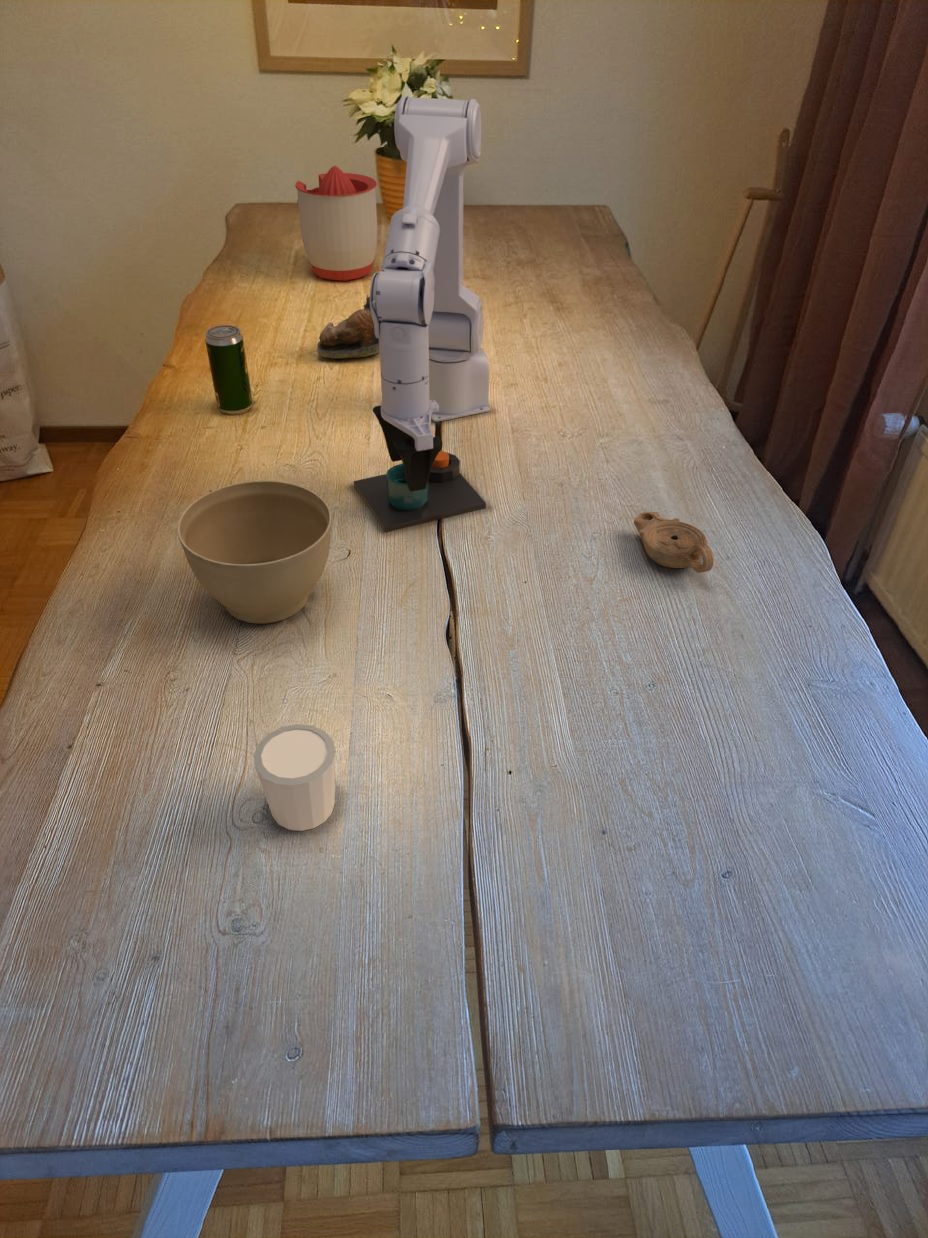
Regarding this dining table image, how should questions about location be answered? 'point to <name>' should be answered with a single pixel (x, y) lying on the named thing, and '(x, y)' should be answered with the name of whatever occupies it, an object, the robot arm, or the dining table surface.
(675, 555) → the oil lamp
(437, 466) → the button
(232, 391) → the beer can
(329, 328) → the bison figurine
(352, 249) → the citrus juicer
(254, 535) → the planter bowl
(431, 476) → the scale
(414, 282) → the robot arm
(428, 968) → the dining table surface
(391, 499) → the teal cup
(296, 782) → the beige cylinder
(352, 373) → the dining table surface
